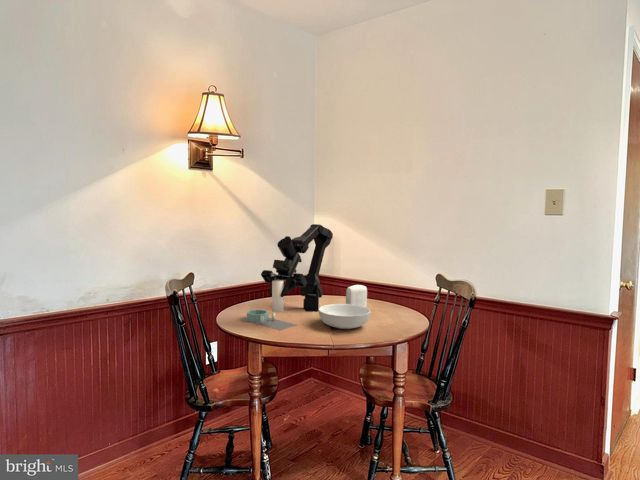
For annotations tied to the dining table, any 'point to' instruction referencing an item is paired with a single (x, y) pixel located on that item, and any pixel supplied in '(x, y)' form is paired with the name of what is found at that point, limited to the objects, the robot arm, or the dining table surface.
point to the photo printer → (356, 295)
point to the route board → (272, 323)
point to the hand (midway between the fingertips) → (275, 295)
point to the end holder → (257, 315)
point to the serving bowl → (344, 315)
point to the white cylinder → (277, 295)
